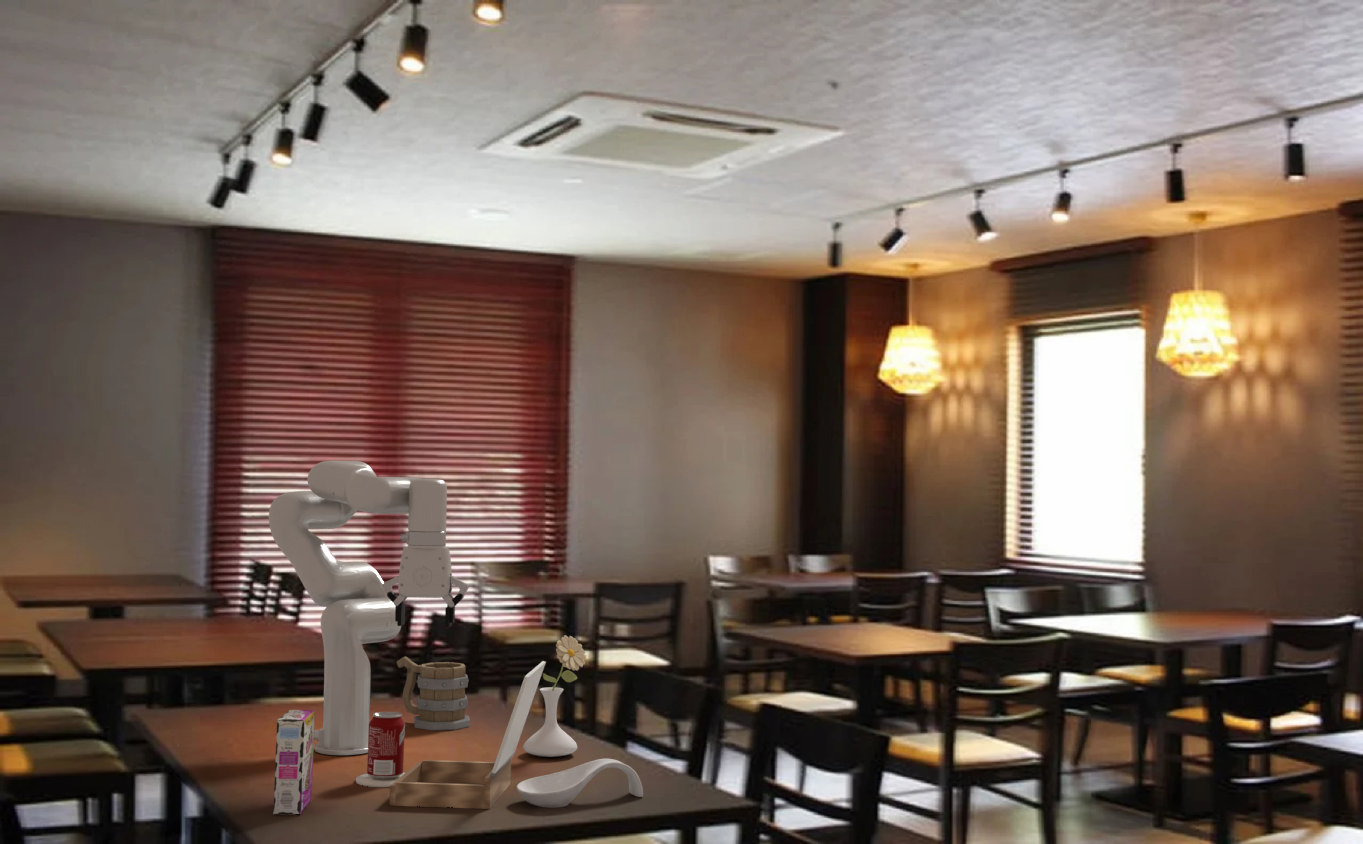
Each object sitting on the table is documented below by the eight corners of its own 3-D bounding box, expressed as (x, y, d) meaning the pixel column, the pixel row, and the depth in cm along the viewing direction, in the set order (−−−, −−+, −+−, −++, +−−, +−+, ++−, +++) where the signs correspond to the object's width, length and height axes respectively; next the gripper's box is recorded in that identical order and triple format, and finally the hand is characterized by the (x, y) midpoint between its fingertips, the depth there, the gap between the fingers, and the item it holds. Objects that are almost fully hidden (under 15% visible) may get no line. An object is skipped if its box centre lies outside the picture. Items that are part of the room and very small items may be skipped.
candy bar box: (302, 816, 242) (304, 720, 243) (272, 816, 242) (275, 719, 242) (313, 800, 253) (316, 708, 254) (285, 800, 253) (287, 708, 253)
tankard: (480, 724, 330) (481, 660, 330) (443, 732, 319) (445, 666, 320) (417, 715, 341) (418, 653, 341) (379, 723, 330) (380, 658, 330)
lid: (524, 676, 250) (528, 677, 250) (542, 660, 270) (546, 662, 270) (489, 777, 249) (493, 778, 249) (510, 754, 269) (514, 756, 269)
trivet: (348, 786, 265) (348, 783, 265) (365, 773, 276) (365, 770, 276) (406, 788, 264) (406, 785, 264) (420, 775, 275) (420, 772, 275)
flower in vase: (534, 762, 289) (537, 640, 290) (515, 752, 299) (517, 633, 300) (593, 757, 295) (595, 637, 296) (571, 747, 305) (574, 631, 306)
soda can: (395, 782, 266) (397, 717, 267) (361, 779, 267) (363, 715, 268) (408, 775, 273) (410, 712, 273) (375, 772, 274) (377, 710, 274)
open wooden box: (389, 805, 250) (390, 775, 251) (417, 780, 270) (418, 752, 271) (489, 809, 249) (490, 778, 249) (510, 783, 269) (511, 755, 269)
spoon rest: (530, 815, 246) (531, 774, 246) (506, 801, 257) (507, 761, 257) (651, 802, 257) (652, 763, 257) (624, 789, 268) (625, 751, 268)
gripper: (379, 540, 280) (377, 627, 279) (465, 542, 279) (463, 629, 278) (389, 538, 287) (387, 623, 287) (473, 540, 286) (471, 625, 286)
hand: (424, 626), depth 282 cm, fingers open, 9 cm apart
